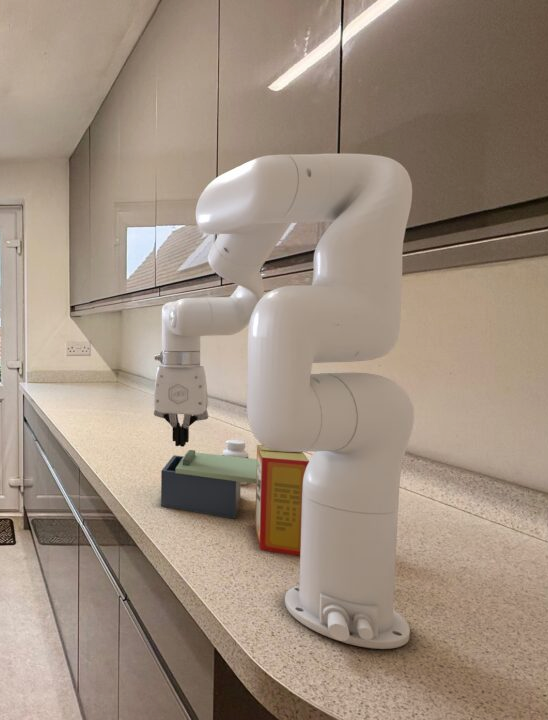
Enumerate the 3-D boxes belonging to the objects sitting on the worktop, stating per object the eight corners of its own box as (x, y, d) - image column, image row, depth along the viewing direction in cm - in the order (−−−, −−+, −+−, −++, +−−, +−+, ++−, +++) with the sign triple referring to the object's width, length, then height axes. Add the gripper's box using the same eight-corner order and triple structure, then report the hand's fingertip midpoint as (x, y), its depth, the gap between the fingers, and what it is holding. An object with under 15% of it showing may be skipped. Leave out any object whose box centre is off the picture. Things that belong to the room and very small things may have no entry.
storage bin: (235, 519, 95) (236, 480, 95) (161, 506, 103) (161, 470, 102) (240, 497, 107) (241, 463, 106) (173, 487, 114) (173, 455, 114)
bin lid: (261, 484, 92) (261, 473, 92) (175, 473, 100) (175, 462, 100) (263, 464, 105) (263, 454, 105) (186, 455, 113) (187, 446, 113)
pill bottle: (244, 479, 119) (244, 439, 118) (251, 486, 114) (252, 444, 113) (219, 477, 120) (220, 438, 120) (225, 484, 115) (226, 443, 115)
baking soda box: (306, 556, 80) (309, 459, 79) (260, 549, 83) (262, 455, 82) (297, 533, 88) (299, 445, 87) (255, 528, 91) (257, 442, 90)
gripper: (140, 360, 106) (140, 445, 107) (218, 361, 98) (217, 452, 99) (148, 358, 112) (148, 438, 113) (222, 359, 104) (221, 445, 105)
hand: (180, 445), depth 106 cm, fingers closed
